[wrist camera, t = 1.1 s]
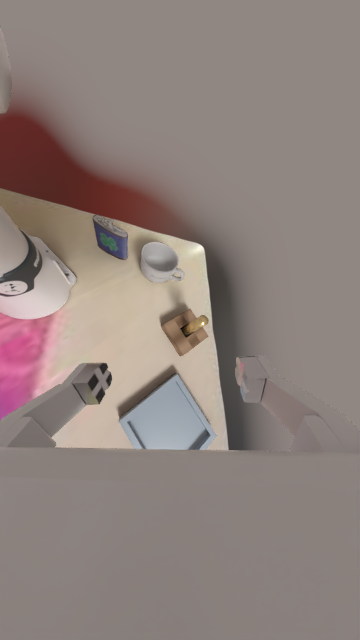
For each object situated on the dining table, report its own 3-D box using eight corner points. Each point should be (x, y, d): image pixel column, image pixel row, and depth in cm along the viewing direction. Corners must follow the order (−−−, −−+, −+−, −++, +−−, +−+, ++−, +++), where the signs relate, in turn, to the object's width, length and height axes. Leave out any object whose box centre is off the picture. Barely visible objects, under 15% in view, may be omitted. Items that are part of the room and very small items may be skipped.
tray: (119, 417, 33) (118, 421, 31) (174, 373, 40) (177, 373, 38) (161, 491, 31) (164, 500, 29) (211, 431, 39) (216, 435, 36)
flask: (128, 256, 46) (129, 227, 37) (124, 262, 45) (123, 233, 35) (100, 240, 45) (94, 205, 35) (95, 246, 43) (86, 211, 34)
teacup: (131, 269, 45) (132, 251, 38) (154, 253, 50) (159, 234, 43) (164, 300, 46) (171, 287, 39) (184, 281, 51) (193, 267, 44)
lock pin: (178, 331, 44) (197, 318, 33) (184, 327, 45) (204, 313, 34) (182, 338, 44) (202, 327, 32) (188, 334, 45) (210, 322, 33)
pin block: (161, 327, 43) (163, 324, 40) (186, 312, 47) (190, 308, 44) (179, 356, 42) (183, 355, 39) (203, 338, 46) (208, 336, 44)
